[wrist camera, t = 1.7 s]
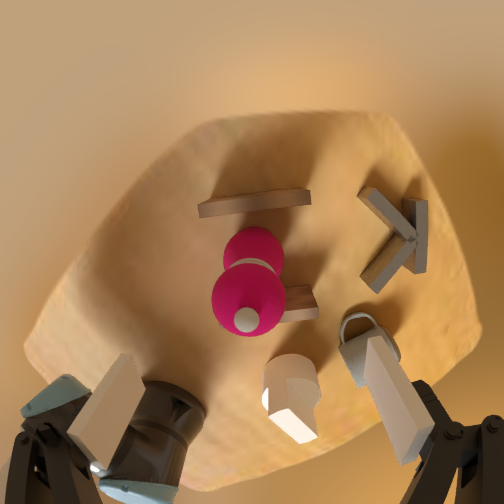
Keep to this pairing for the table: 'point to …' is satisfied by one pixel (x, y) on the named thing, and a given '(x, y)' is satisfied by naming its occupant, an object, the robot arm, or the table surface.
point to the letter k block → (397, 238)
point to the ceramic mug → (363, 347)
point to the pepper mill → (250, 284)
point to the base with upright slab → (292, 395)
